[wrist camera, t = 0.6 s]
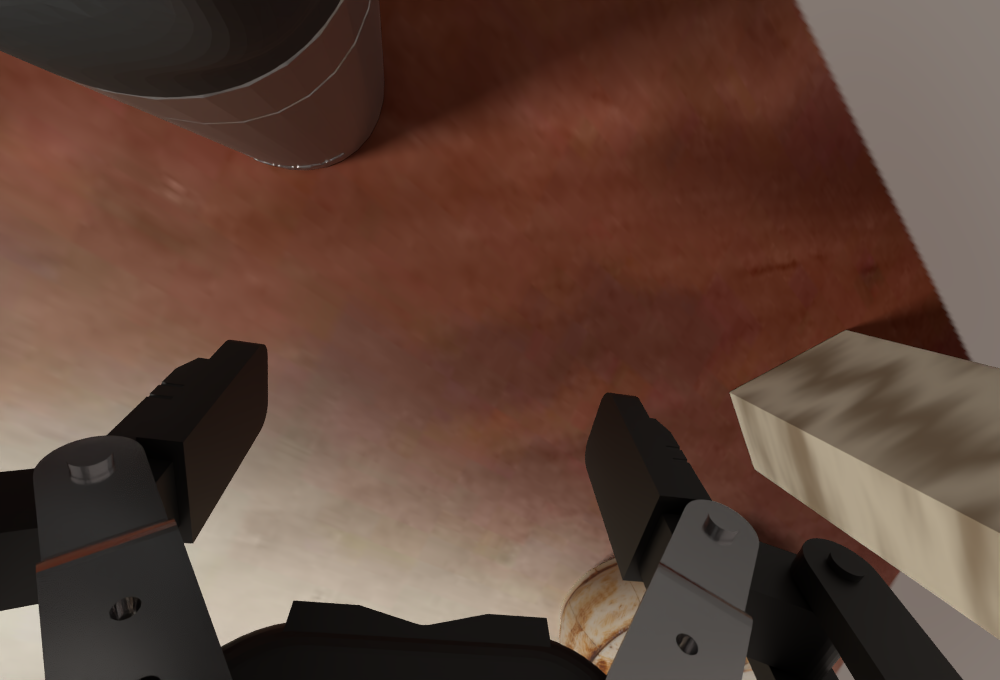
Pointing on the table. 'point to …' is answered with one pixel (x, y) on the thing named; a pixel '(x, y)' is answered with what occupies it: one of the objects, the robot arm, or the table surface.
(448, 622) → the robot arm
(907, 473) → the birch stand
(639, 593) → the trinket box
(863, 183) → the table surface
